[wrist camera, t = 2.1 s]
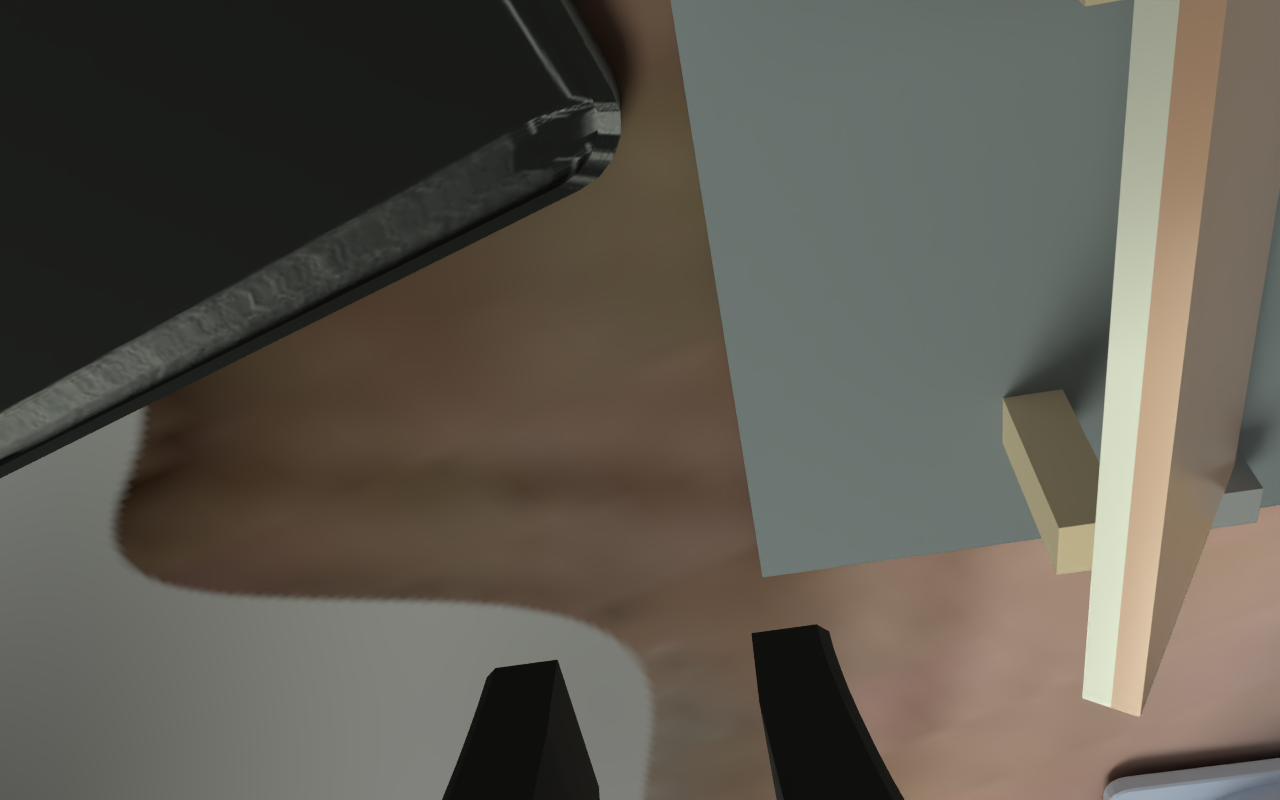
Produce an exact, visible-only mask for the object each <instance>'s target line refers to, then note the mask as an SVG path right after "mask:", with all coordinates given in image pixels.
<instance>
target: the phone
mask: <svg viewBox="0 0 1280 800" xmlns="http://www.w3.org/2000/svg"><path fill="white" fill-rule="evenodd" d="M620 137H621V117H620V90H619V88H618V85H617V82H616V80H615V77H614V74H613V72H612V69H611V67H610V65H609V64H608V62H607V60H606V58H605V57H604V55H603V53H602V51H601V50H600V48H599V46H598V44H597V43H596V41H595V39H594V37H593V36H592V34H591V32H590V30H589V29H588V27H587V25H586V23H585V22H584V20H583V18H582V16H581V15H580V13H579V11H578V9H577V8H576V6H575V4H574V2H573V1H572V0H0V478H2V477H4V476H6V475H8V474H10V473H12V472H14V471H16V470H18V469H20V468H22V467H24V466H26V465H28V464H30V463H32V462H34V461H36V460H38V459H40V458H42V457H44V456H46V455H48V454H50V453H52V452H54V451H56V450H58V449H60V448H62V447H64V446H66V445H68V444H70V443H72V442H74V441H76V440H78V439H80V438H82V437H84V436H86V435H88V434H90V433H92V432H94V431H96V430H98V429H100V428H102V427H104V426H106V425H108V424H110V423H112V422H114V421H116V420H118V419H120V418H122V417H124V416H126V415H128V414H130V413H132V412H134V411H136V410H138V409H140V408H143V407H145V406H147V405H149V404H151V403H153V402H155V401H157V400H159V399H161V398H163V397H165V396H167V395H169V394H171V393H173V392H175V391H177V390H179V389H181V388H183V387H185V386H187V385H189V384H191V383H193V382H195V381H197V380H199V379H201V378H203V377H205V376H207V375H209V374H211V373H213V372H215V371H217V370H219V369H221V368H223V367H225V366H227V365H229V364H231V363H233V362H235V361H237V360H239V359H241V358H243V357H245V356H247V355H249V354H251V353H253V352H255V351H257V350H259V349H261V348H263V347H265V346H267V345H269V344H271V343H273V342H275V341H277V340H279V339H281V338H283V337H285V336H287V335H289V334H291V333H293V332H295V331H297V330H299V329H301V328H303V327H305V326H307V325H309V324H311V323H313V322H315V321H317V320H319V319H321V318H323V317H325V316H327V315H329V314H331V313H333V312H335V311H337V310H339V309H341V308H343V307H345V306H347V305H349V304H351V303H354V302H356V301H358V300H360V299H362V298H364V297H366V296H368V295H370V294H372V293H374V292H376V291H378V290H380V289H382V288H384V287H386V286H388V285H390V284H392V283H394V282H396V281H398V280H400V279H402V278H404V277H406V276H408V275H410V274H412V273H414V272H416V271H418V270H420V269H422V268H424V267H426V266H428V265H430V264H432V263H434V262H436V261H438V260H440V259H442V258H444V257H446V256H448V255H450V254H452V253H454V252H456V251H458V250H460V249H462V248H464V247H466V246H468V245H470V244H472V243H474V242H476V241H478V240H480V239H482V238H484V237H486V236H488V235H490V234H492V233H494V232H496V231H498V230H500V229H502V228H504V227H506V226H508V225H510V224H512V223H514V222H516V221H518V220H520V219H522V218H524V217H526V216H528V215H530V214H532V213H534V212H536V211H538V210H540V209H542V208H544V207H546V206H548V205H550V204H552V203H554V202H556V201H558V200H560V199H562V198H565V197H567V196H569V195H571V194H573V193H575V192H577V191H579V190H581V189H582V188H583V187H585V186H586V185H588V184H589V183H591V182H592V181H593V180H595V179H596V178H598V177H599V176H600V175H601V174H602V172H603V171H604V170H605V168H606V167H607V166H608V164H609V163H610V162H611V160H612V159H613V158H614V155H615V152H616V149H617V146H618V143H619V140H620Z"/></svg>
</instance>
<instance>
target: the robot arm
mask: <svg viewBox="0 0 1280 800" xmlns="http://www.w3.org/2000/svg"><path fill="white" fill-rule="evenodd" d="M752 642H753V651H754V659H755V668H756V677H757V685H758V694H759V702H760V708H761V714H762V719H763V725H764V731H765V736H766V742H767V747H768V753H769V759H770V764H771V770H772V776H773V781H774V787H775V792H776V798H777V800H904V798H903V796H902V795H901V793H900V791H899V789H898V788H897V786H896V784H895V782H894V781H893V779H892V777H891V775H890V773H889V771H888V769H887V768H886V766H885V764H884V762H883V760H882V758H881V756H880V754H879V752H878V750H877V748H876V746H875V744H874V742H873V740H872V738H871V736H870V734H869V732H868V730H867V728H866V726H865V724H864V722H863V720H862V718H861V715H860V713H859V711H858V709H857V707H856V704H855V702H854V700H853V698H852V695H851V693H850V691H849V688H848V686H847V683H846V681H845V678H844V676H843V673H842V671H841V668H840V665H839V662H838V659H837V657H836V654H835V651H834V648H833V644H832V641H831V637H830V633H829V631H827V630H825V629H824V628H822V627H820V626H818V625H817V624H816V625H809V626H801V627H794V628H787V629H779V630H772V631H765V632H757V633H752ZM442 800H600V799H599V786H598V783H597V780H596V777H595V774H594V771H593V767H592V764H591V761H590V758H589V755H588V752H587V749H586V746H585V743H584V740H583V737H582V734H581V731H580V728H579V724H578V721H577V718H576V715H575V712H574V709H573V706H572V703H571V700H570V697H569V694H568V691H567V687H566V685H565V681H564V678H563V675H562V672H561V669H560V666H559V663H558V660H552V661H544V662H537V663H530V664H523V665H515V666H508V667H500V668H495V669H494V670H493V671H492V672H491V674H490V675H489V676H488V677H487V679H486V682H485V685H484V688H483V691H482V694H481V697H480V700H479V703H478V706H477V709H476V712H475V715H474V718H473V721H472V724H471V726H470V729H469V732H468V735H467V737H466V740H465V743H464V746H463V748H462V751H461V753H460V756H459V759H458V761H457V764H456V767H455V769H454V771H453V774H452V776H451V779H450V782H449V784H448V786H447V789H446V791H445V794H444V796H443V799H442ZM1103 800H1280V758H1274V759H1265V760H1257V761H1249V762H1241V763H1233V764H1225V765H1217V766H1209V767H1200V768H1192V769H1184V770H1176V771H1168V772H1160V773H1152V774H1144V775H1135V776H1127V777H1122V778H1118V779H1116V780H1114V781H1112V782H1111V783H1110V784H1109V785H1107V786H1106V788H1105V790H1104V793H1103Z"/></svg>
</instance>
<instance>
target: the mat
mask: <svg viewBox="0 0 1280 800" xmlns="http://www.w3.org/2000/svg"><path fill="white" fill-rule="evenodd" d="M671 6H672V12H673V19H674V25H675V31H676V37H677V44H678V50H679V56H680V62H681V69H682V75H683V81H684V87H685V94H686V100H687V106H688V113H689V119H690V125H691V131H692V138H693V144H694V150H695V156H696V163H697V169H698V175H699V181H700V188H701V194H702V200H703V207H704V213H705V219H706V225H707V232H708V238H709V244H710V250H711V257H712V263H713V269H714V275H715V282H716V288H717V294H718V301H719V307H720V313H721V319H722V326H723V332H724V338H725V344H726V351H727V357H728V363H729V369H730V376H731V382H732V388H733V394H734V401H735V407H736V413H737V420H738V426H739V432H740V438H741V445H742V451H743V457H744V463H745V470H746V476H747V482H748V488H749V495H750V501H751V507H752V514H753V520H754V526H755V532H756V539H757V545H758V551H759V557H760V564H761V570H762V576H763V577H769V576H776V575H783V574H790V573H797V572H804V571H811V570H819V569H826V568H833V567H840V566H847V565H854V564H862V563H869V562H876V561H883V560H890V559H897V558H904V557H912V556H919V555H926V554H933V553H940V552H947V551H954V550H962V549H969V548H976V547H983V546H990V545H997V544H1004V543H1012V542H1019V541H1026V540H1033V539H1040V538H1042V540H1043V543H1044V545H1045V548H1046V550H1047V552H1048V555H1049V557H1050V560H1051V562H1052V565H1053V567H1054V570H1055V572H1056V574H1057V575H1058V574H1065V573H1073V572H1080V571H1087V570H1092V562H1093V548H1094V535H1095V522H1096V508H1097V495H1098V481H1099V468H1100V455H1101V441H1102V428H1103V414H1104V401H1105V387H1106V374H1107V361H1108V347H1109V334H1110V320H1111V307H1112V294H1113V280H1114V267H1115V253H1116V240H1117V227H1118V213H1119V200H1120V186H1121V173H1122V159H1123V146H1124V133H1125V119H1126V106H1127V92H1128V79H1129V66H1130V52H1131V39H1132V25H1133V12H1134V0H671ZM1276 505H1280V189H1279V195H1278V202H1277V208H1276V214H1275V220H1274V226H1273V232H1272V238H1271V244H1270V251H1269V257H1268V263H1267V269H1266V275H1265V281H1264V287H1263V293H1262V299H1261V306H1260V312H1259V318H1258V324H1257V330H1256V336H1255V342H1254V348H1253V355H1252V361H1251V367H1250V373H1249V379H1248V385H1247V391H1246V397H1245V404H1244V410H1243V416H1242V422H1241V428H1240V434H1239V440H1238V446H1237V452H1236V459H1235V465H1234V468H1233V471H1232V473H1231V476H1230V479H1229V481H1228V484H1227V487H1226V489H1225V492H1224V495H1223V497H1222V500H1221V503H1220V505H1219V508H1218V511H1217V513H1216V516H1215V519H1214V521H1213V524H1212V527H1211V529H1213V528H1220V527H1227V526H1234V525H1242V524H1249V523H1256V522H1257V520H1258V515H1259V509H1260V508H1262V507H1269V506H1276Z"/></svg>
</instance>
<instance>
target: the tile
mask: <svg viewBox="0 0 1280 800" xmlns="http://www.w3.org/2000/svg"><path fill="white" fill-rule="evenodd" d="M1279 189H1280V0H1134V12H1133V25H1132V39H1131V52H1130V66H1129V79H1128V92H1127V106H1126V119H1125V133H1124V146H1123V159H1122V173H1121V186H1120V200H1119V213H1118V227H1117V240H1116V253H1115V267H1114V280H1113V294H1112V307H1111V320H1110V334H1109V347H1108V361H1107V374H1106V387H1105V401H1104V414H1103V428H1102V441H1101V455H1100V468H1099V481H1098V495H1097V508H1096V522H1095V535H1094V548H1093V562H1092V575H1091V589H1090V602H1089V616H1088V629H1087V642H1086V656H1085V669H1084V683H1083V696H1082V698H1083V699H1086V700H1089V701H1092V702H1095V703H1098V704H1101V705H1104V706H1107V707H1110V708H1113V709H1116V710H1119V711H1122V712H1125V713H1128V714H1131V715H1134V716H1137V717H1140V716H1141V714H1142V711H1143V708H1144V706H1145V703H1146V700H1147V698H1148V695H1149V692H1150V690H1151V687H1152V684H1153V682H1154V679H1155V676H1156V674H1157V671H1158V668H1159V666H1160V663H1161V660H1162V658H1163V655H1164V652H1165V650H1166V647H1167V644H1168V642H1169V639H1170V636H1171V634H1172V631H1173V628H1174V626H1175V623H1176V620H1177V618H1178V615H1179V612H1180V610H1181V607H1182V604H1183V602H1184V599H1185V596H1186V594H1187V591H1188V588H1189V586H1190V583H1191V580H1192V578H1193V575H1194V572H1195V570H1196V567H1197V564H1198V562H1199V559H1200V556H1201V553H1202V551H1203V548H1204V545H1205V543H1206V540H1207V537H1208V535H1209V532H1210V529H1211V527H1212V524H1213V521H1214V519H1215V516H1216V513H1217V511H1218V508H1219V505H1220V503H1221V500H1222V497H1223V495H1224V492H1225V489H1226V487H1227V484H1228V481H1229V479H1230V476H1231V473H1232V471H1233V468H1234V465H1235V459H1236V452H1237V446H1238V440H1239V434H1240V428H1241V422H1242V416H1243V410H1244V404H1245V397H1246V391H1247V385H1248V379H1249V373H1250V367H1251V361H1252V355H1253V348H1254V342H1255V336H1256V330H1257V324H1258V318H1259V312H1260V306H1261V299H1262V293H1263V287H1264V281H1265V275H1266V269H1267V263H1268V257H1269V251H1270V244H1271V238H1272V232H1273V226H1274V220H1275V214H1276V208H1277V202H1278V195H1279Z"/></svg>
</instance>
